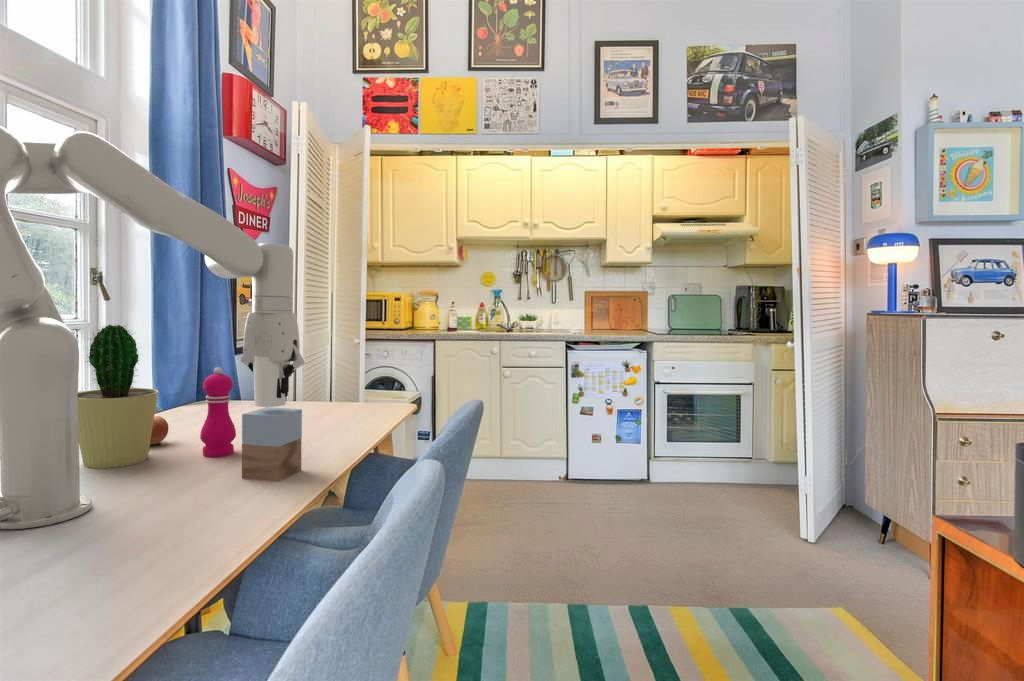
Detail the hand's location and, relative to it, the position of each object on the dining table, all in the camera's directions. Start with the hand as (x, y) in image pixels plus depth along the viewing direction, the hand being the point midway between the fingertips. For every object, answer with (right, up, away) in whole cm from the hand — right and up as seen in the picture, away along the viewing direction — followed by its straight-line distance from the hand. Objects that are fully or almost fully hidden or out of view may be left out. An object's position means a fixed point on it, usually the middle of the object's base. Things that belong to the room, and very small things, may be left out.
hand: (272, 395), depth 111 cm
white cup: (-1, -2, 0) cm, 2 cm away
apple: (-39, -14, +21) cm, 47 cm away
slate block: (0, -9, +1) cm, 9 cm away
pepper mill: (-19, -15, +15) cm, 28 cm away
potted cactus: (-37, -15, +7) cm, 40 cm away
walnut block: (0, -16, +1) cm, 16 cm away
